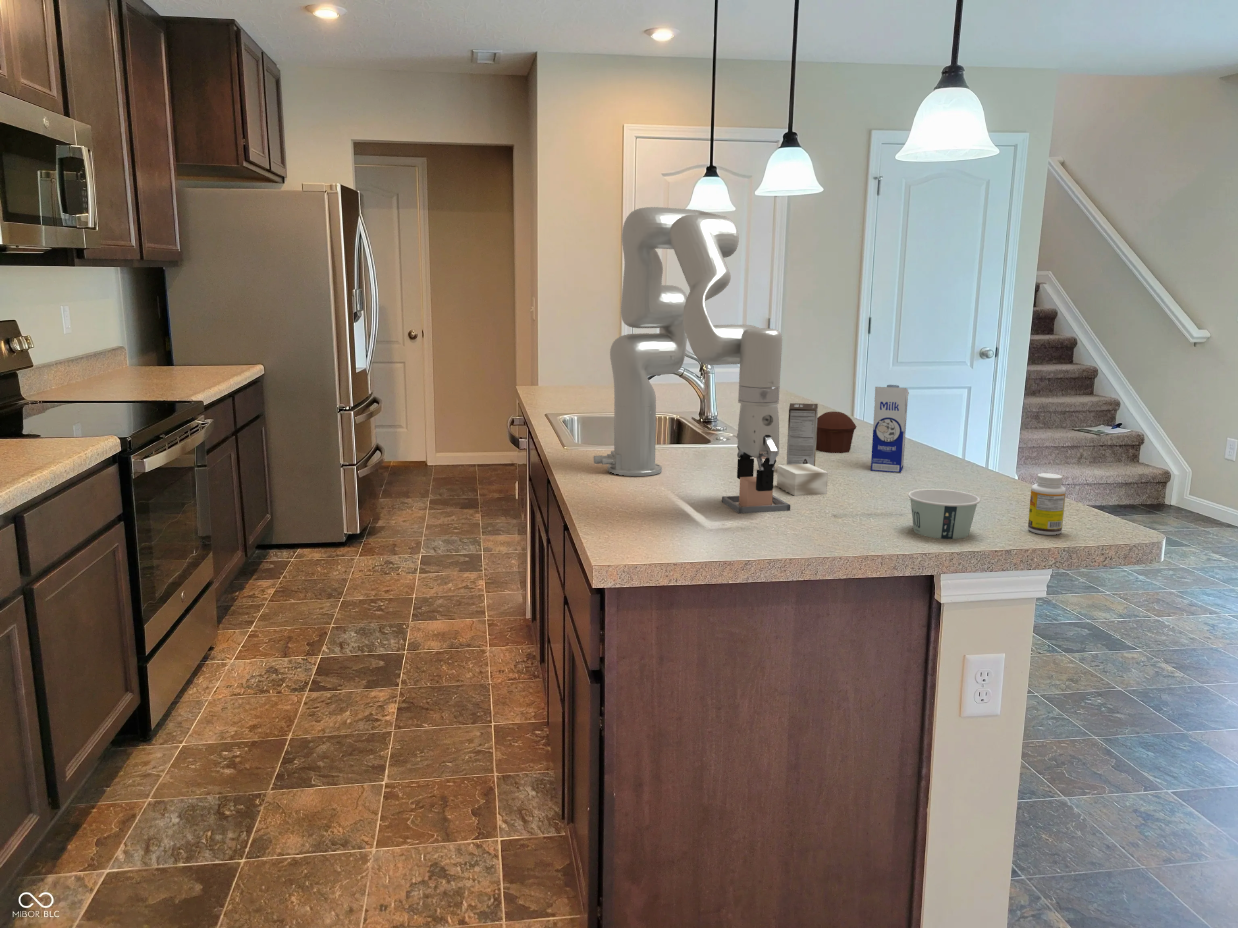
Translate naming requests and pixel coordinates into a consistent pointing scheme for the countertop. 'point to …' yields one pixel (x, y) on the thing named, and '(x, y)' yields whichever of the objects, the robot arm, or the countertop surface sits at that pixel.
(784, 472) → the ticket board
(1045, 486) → the supplement bottle
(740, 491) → the block
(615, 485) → the countertop surface
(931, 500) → the food container
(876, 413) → the milk carton
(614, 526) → the countertop surface
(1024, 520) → the countertop surface
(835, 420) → the muffin
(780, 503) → the tray
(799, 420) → the coffee box
